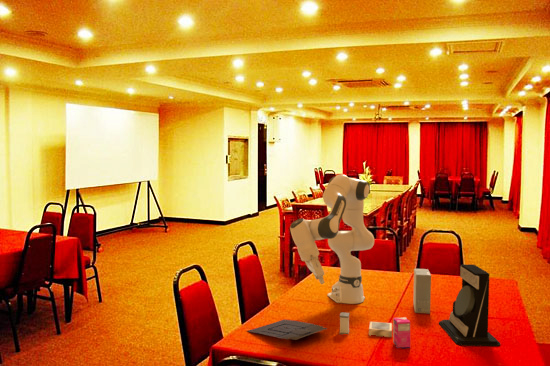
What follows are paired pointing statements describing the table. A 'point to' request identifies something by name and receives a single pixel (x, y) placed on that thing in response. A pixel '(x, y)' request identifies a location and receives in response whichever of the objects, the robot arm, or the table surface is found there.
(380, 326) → the oak stand
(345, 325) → the plate
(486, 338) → the award
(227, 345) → the table surface
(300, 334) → the dark grey panelled slab
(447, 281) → the table surface
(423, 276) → the hard drive box
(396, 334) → the supplement box
